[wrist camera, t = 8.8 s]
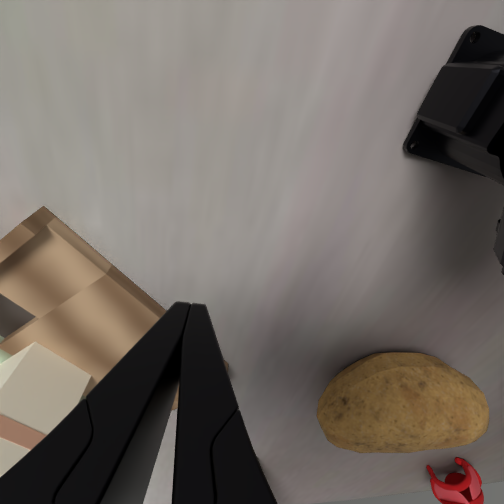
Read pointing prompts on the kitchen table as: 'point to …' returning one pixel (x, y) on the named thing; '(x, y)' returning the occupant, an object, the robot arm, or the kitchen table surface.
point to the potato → (401, 405)
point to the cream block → (34, 399)
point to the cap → (458, 486)
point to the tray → (68, 299)
